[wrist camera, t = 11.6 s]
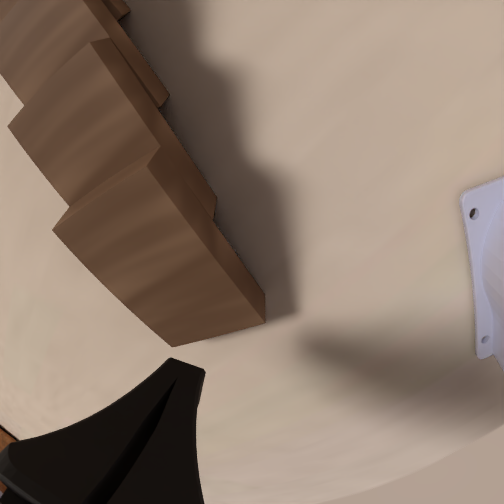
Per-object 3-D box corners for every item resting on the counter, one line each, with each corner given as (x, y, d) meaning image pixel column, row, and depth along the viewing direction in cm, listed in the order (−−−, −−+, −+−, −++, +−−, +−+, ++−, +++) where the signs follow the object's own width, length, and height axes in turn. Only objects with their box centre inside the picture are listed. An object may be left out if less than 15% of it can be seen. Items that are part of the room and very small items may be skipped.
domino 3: (265, 322, 13) (146, 166, 9) (172, 347, 15) (52, 229, 10) (265, 295, 15) (160, 145, 10) (177, 321, 16) (69, 206, 12)
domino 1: (160, 106, 11) (54, -37, 6) (75, 168, 12) (-18, 47, 7) (169, 94, 12) (74, -36, 7) (89, 151, 13) (3, 39, 8)
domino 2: (212, 220, 12) (89, 42, 7) (120, 262, 14) (7, 126, 9) (217, 197, 13) (109, 37, 9) (129, 239, 15) (28, 112, 10)
